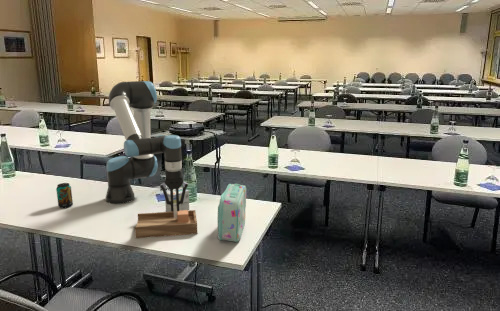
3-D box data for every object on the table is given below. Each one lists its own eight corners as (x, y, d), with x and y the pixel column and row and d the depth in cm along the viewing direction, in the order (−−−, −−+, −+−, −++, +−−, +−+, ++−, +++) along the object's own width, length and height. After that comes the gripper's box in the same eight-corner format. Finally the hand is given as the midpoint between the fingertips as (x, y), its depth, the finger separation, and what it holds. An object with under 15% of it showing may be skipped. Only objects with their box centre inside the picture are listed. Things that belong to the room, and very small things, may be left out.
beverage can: (67, 209, 207) (64, 187, 204) (55, 208, 208) (52, 186, 205) (75, 204, 213) (73, 183, 210) (64, 203, 215) (61, 182, 212)
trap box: (138, 223, 190) (137, 213, 189) (195, 219, 195) (195, 210, 194) (135, 238, 175) (134, 227, 174) (197, 233, 180) (197, 223, 178)
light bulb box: (182, 206, 212) (181, 187, 209) (189, 209, 207) (189, 190, 204) (165, 211, 205) (164, 191, 202) (172, 215, 200) (171, 195, 197)
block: (177, 218, 190) (177, 210, 189) (188, 217, 191) (188, 210, 190) (177, 222, 185) (177, 214, 184) (188, 222, 186) (188, 214, 185)
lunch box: (226, 219, 195) (225, 178, 190) (246, 220, 194) (247, 178, 189) (215, 245, 170) (215, 197, 164) (239, 246, 169) (240, 198, 163)
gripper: (158, 172, 177) (161, 221, 183) (188, 171, 179) (189, 219, 185) (159, 167, 184) (161, 215, 190) (187, 166, 186) (189, 213, 192)
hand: (175, 217), depth 188 cm, fingers closed
